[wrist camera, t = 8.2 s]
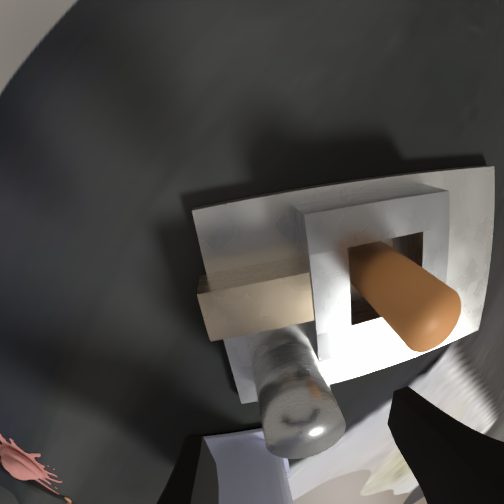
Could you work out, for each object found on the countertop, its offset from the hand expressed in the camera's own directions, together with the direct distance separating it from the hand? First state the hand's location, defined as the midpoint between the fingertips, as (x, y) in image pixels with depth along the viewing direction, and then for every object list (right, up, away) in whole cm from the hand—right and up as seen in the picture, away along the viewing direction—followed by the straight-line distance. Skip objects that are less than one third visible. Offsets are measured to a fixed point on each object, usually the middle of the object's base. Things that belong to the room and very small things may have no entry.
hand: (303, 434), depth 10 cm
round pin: (+5, +6, +8) cm, 11 cm away
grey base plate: (+6, +5, +10) cm, 12 cm away
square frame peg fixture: (+2, +5, +8) cm, 10 cm away
